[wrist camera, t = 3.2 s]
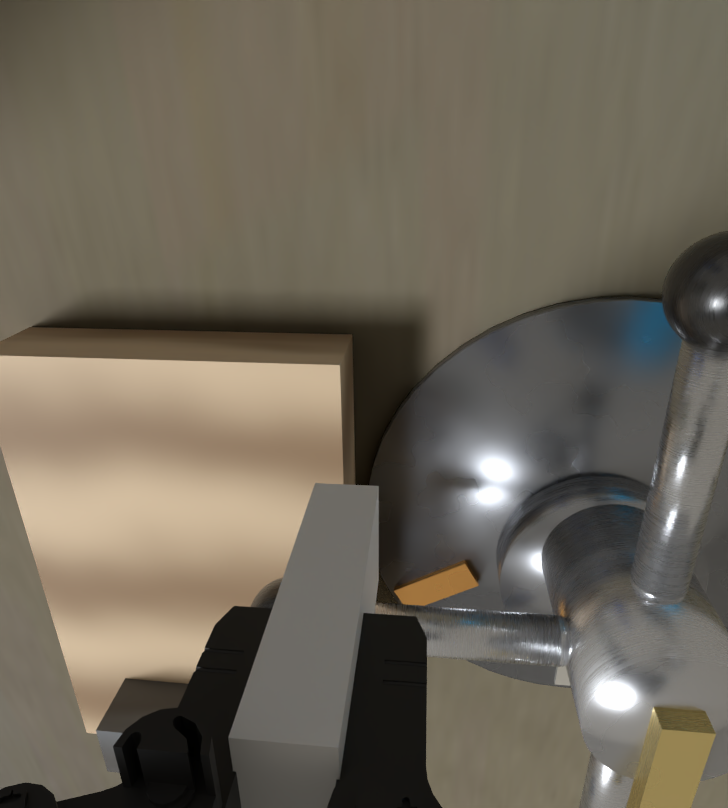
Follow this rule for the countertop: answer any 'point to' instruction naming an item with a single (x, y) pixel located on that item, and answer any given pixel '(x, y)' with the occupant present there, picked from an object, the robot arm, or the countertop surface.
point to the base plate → (525, 447)
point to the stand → (164, 489)
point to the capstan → (625, 581)
